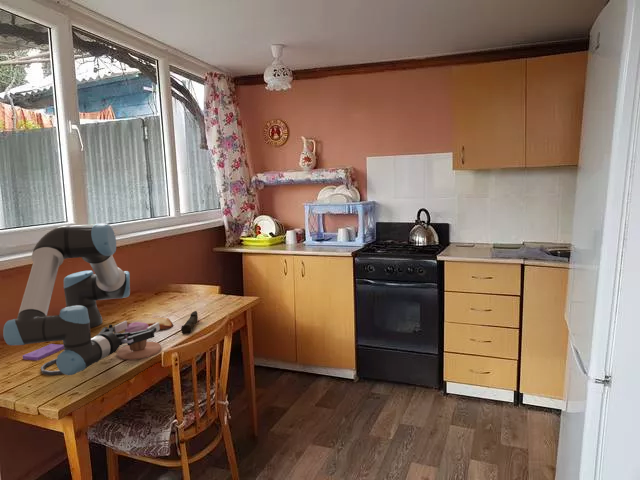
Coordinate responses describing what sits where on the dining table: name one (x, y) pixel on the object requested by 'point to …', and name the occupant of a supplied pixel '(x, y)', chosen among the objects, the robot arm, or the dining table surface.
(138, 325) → the cupcake
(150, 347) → the plate
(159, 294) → the dining table surface
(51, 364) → the dark grey ring
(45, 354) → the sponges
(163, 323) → the slice of bread
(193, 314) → the hand tool
